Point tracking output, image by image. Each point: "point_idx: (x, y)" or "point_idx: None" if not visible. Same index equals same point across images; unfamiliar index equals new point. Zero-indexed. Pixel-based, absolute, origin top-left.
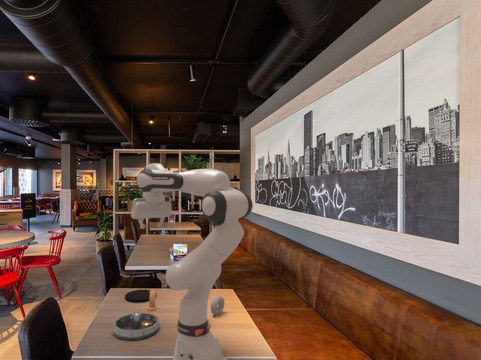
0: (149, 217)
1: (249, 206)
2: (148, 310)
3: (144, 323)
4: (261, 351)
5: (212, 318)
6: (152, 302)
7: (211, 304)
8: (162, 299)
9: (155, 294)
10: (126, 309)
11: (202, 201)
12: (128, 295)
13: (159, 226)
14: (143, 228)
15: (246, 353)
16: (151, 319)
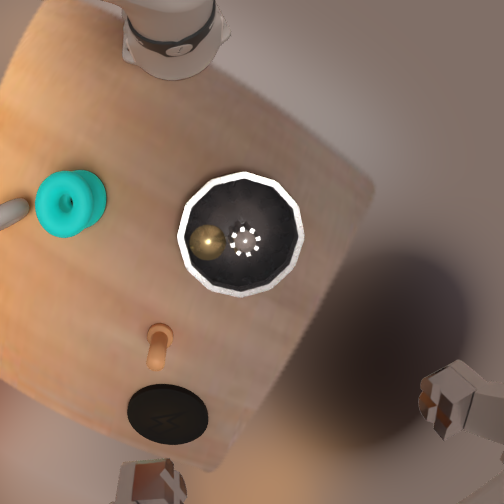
0: (485, 497)
1: None
2: (171, 330)
3: (215, 240)
4: (51, 5)
5: None
6: (159, 339)
7: (19, 210)
8: (117, 379)
9: (130, 404)
10: (222, 363)
11: None
12: (198, 425)
13: (167, 462)
14: (434, 374)
15: (78, 7)
16: (189, 254)
